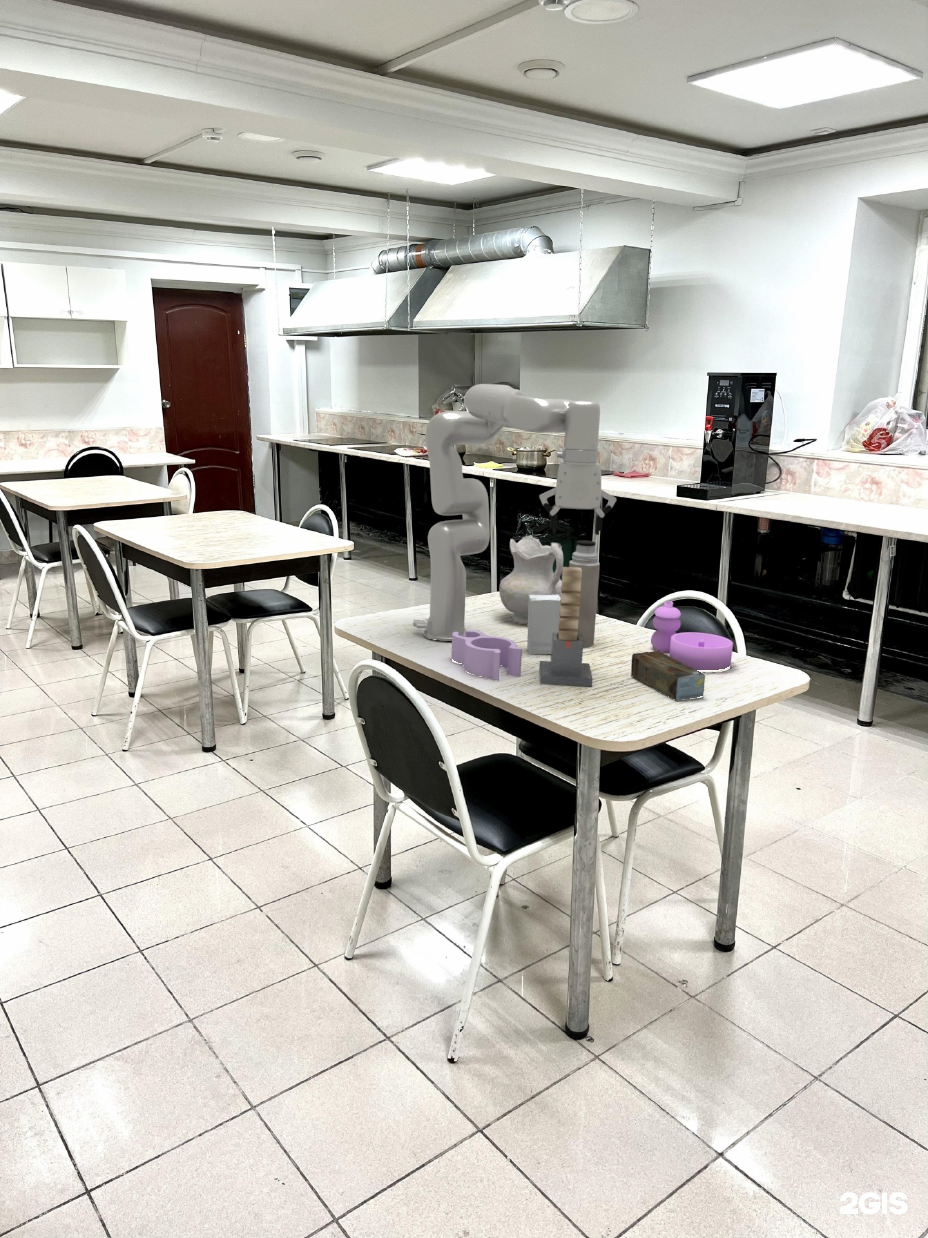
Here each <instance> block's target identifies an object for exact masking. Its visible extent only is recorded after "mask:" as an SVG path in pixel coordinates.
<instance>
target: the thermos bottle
mask: <svg viewBox="0 0 928 1238" xmlns="http://www.w3.org/2000/svg"><path fill="white" fill-rule="evenodd" d="M595 546H596V542H595V541H592V540H577V541H576V547H575V548H576V549H575V551H574V552H572V556H571V558H572V560H569V564H568V567H575V568H581V570H582V578H581V594H580V607H579V620H578V634H582V637H583V648H589V647H594V645H595V644H594V642H595V634H596V633H595V632H596V631H595V630H596V618H597V617H596V616H597V606H598V605H597V604H598V590H599V579H600V562H598V559H599V556H598V554H597V552H595V551H596V547H595Z"/></svg>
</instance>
